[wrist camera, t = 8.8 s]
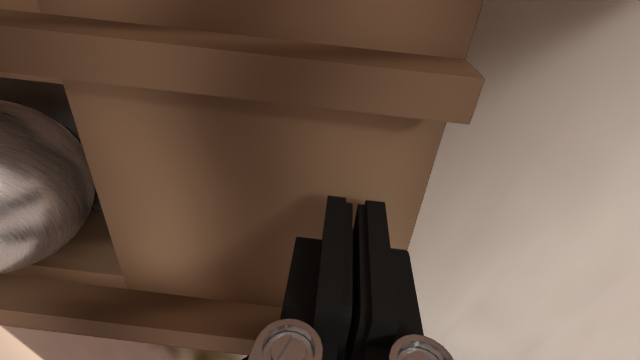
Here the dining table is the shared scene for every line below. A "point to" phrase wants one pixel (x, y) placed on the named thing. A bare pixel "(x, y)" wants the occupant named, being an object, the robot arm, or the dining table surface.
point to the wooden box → (228, 148)
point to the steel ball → (39, 186)
